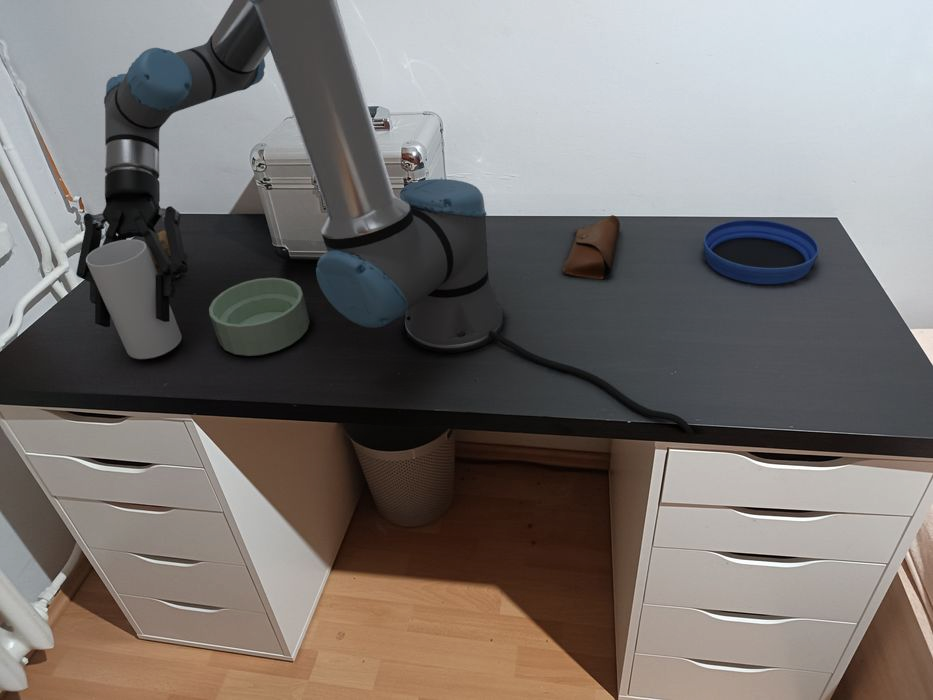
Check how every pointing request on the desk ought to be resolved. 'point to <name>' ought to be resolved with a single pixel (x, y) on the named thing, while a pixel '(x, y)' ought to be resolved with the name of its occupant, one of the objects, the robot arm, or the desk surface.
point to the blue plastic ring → (760, 251)
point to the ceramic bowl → (259, 316)
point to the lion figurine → (165, 245)
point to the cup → (133, 297)
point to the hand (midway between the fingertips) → (132, 322)
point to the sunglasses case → (593, 250)
